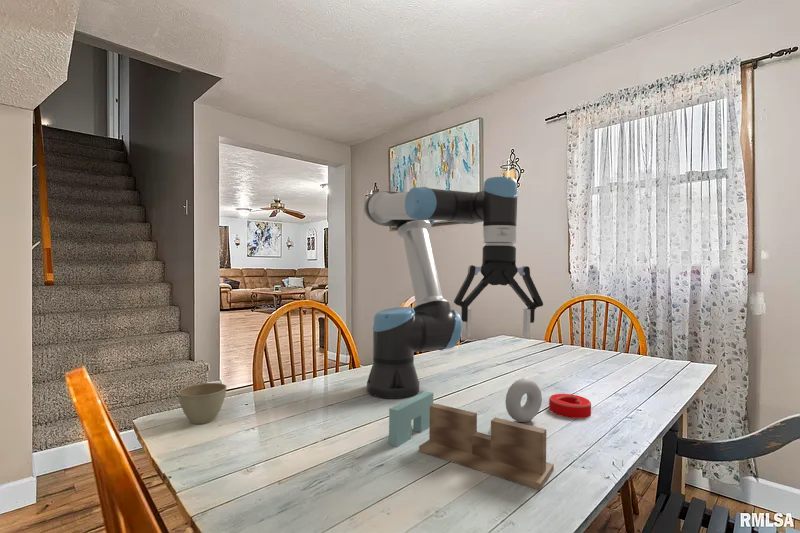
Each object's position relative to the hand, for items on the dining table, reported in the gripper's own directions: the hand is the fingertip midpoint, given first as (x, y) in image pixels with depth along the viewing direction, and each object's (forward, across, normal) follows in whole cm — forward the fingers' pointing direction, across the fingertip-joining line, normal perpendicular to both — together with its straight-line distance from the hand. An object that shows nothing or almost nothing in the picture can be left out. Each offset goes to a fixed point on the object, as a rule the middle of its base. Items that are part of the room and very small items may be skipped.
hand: (497, 336), depth 95 cm
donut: (+20, +6, -1) cm, 21 cm away
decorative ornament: (+20, +20, +6) cm, 29 cm away
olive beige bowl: (+20, -68, -2) cm, 71 cm away
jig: (+19, -7, -20) cm, 29 cm away
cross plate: (+20, -20, -9) cm, 29 cm away
